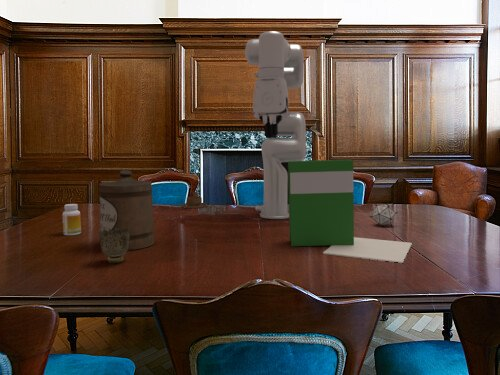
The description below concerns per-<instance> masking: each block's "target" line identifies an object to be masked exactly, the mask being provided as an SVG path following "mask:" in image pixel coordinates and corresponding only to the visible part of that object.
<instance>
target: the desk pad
mask: <svg viewBox="0 0 500 375" xmlns="http://www.w3.org/2000/svg"><path fill="white" fill-rule="evenodd" d="M412 245H413V243H412V242H408V241H407V242H406V241H396V240H395V241H394V240H386V239H385V240H384V239H376V238H365V237H356V236H354V245H330V246H329V247H328V248H327V249H326V250H324V251H322V254H323V255H328V256H336V257H346V258H353V259H354V258H355V259H360V258H361V260H362V259H363V260H369V259H370V260H371V261H377V260H378V262H385V261H389V262H388V263H394V262H398V263H397V264H402V263H403V264H404V262H405V260H406V258H407V256H408V254H409V251H410V249H411V247H412ZM407 253H408V254H407ZM404 259H405V260H404ZM370 260H369V261H370Z"/></svg>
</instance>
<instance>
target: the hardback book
mask: <svg viewBox="0 0 500 375" xmlns="http://www.w3.org/2000/svg"><path fill="white" fill-rule="evenodd" d="M287 168H288V169H287V170H288V171H287V175H288V182H287V183H288V213H289V218H288V221H289V227H288V228H289V242H291V243H290V244H291V245H290V246H291V247H313V246H317V247H319V246H320V247H321V246H332V245H354V237H355V234H354V232H355V230H354V229H355V228H354V227H355V226H354V225H355V224H354V222H355V220H354V218H355V216H354V215H355V214H354V213H355V212H354V208H355V207H354V206H355V205H354V201H355V200H354V160H353V159H328V160H327V159H326V160H325V159H323V160H322V159H321V160H319V159H318V160H303V161H288V162H287Z"/></svg>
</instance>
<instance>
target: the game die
mask: <svg viewBox="0 0 500 375" xmlns="http://www.w3.org/2000/svg"><path fill="white" fill-rule="evenodd" d="M374 205H375V208H374V211H373V213H372V215H370V216H369V218H373V220H375V221H376V223H377V224H378V225H379V227H382V226H383V225H384V226H385V225H386V226H387V225H390V226H391V227H392V226H393V224H392V222H393V221H394V219H395V216H396V214H397V215H398V213H399V212H397V211H394V209H392V208H391V207H390V205H389V204H388V202H387V203H386V204H379V205H378V204H377V203H374Z"/></svg>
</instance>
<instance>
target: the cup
mask: <svg viewBox="0 0 500 375" xmlns="http://www.w3.org/2000/svg"><path fill="white" fill-rule="evenodd" d="M98 238H99V239H98V240H99V243H100V249H101V252H102V254H103V255H104V256H106V257H107V262H109V264H117V263H118V264H119V263H122V262H123V260H124V255H126V253H128V251H129V250H128V247H129V238H130V230H129V229H128V228H127V229H126V230H125V229H124V228H123V229H122V231H121V229H120V228H118V229H116V228H114V229H113V231H111V229H110V228H109V230H108V231H107V230H105V229H103V230H102V231H101V230H99V231H98Z"/></svg>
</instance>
